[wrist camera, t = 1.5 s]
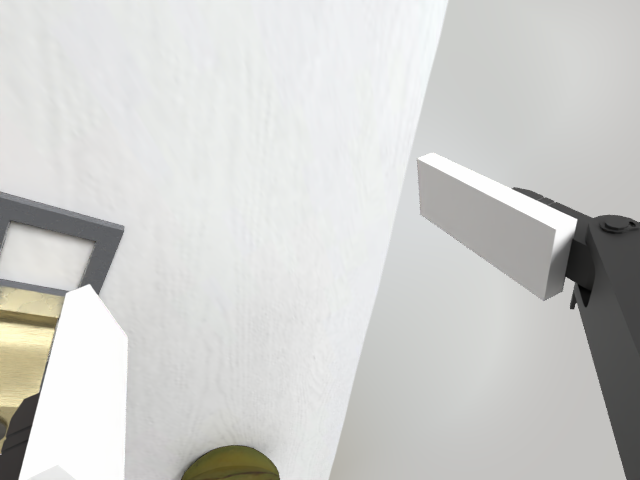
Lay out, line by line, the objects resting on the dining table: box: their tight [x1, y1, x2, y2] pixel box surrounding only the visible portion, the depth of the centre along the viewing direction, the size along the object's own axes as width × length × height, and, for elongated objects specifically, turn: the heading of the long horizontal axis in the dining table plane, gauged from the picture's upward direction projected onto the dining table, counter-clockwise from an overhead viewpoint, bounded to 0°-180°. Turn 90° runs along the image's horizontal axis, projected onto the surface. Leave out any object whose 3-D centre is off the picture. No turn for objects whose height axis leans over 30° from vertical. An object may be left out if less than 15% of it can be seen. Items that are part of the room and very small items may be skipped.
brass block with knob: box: [0, 309, 58, 453], centre depth 33 cm, size 5×5×11 cm
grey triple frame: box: [0, 192, 124, 392], centre depth 37 cm, size 10×28×1 cm, turn 149°
